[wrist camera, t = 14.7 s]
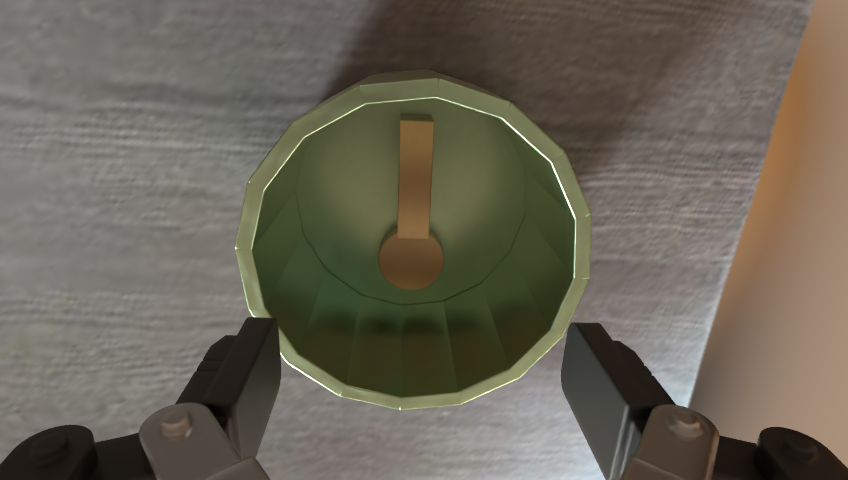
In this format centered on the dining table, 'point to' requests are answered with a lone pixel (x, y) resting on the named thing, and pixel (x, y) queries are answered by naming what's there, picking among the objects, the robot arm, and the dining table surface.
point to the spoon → (413, 211)
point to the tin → (449, 219)
